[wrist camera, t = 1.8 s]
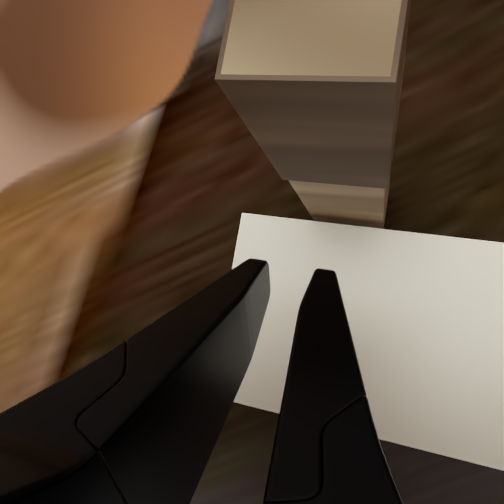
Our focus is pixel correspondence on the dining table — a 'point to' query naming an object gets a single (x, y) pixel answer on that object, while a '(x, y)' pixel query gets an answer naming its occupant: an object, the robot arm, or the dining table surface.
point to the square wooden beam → (321, 96)
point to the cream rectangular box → (393, 327)
